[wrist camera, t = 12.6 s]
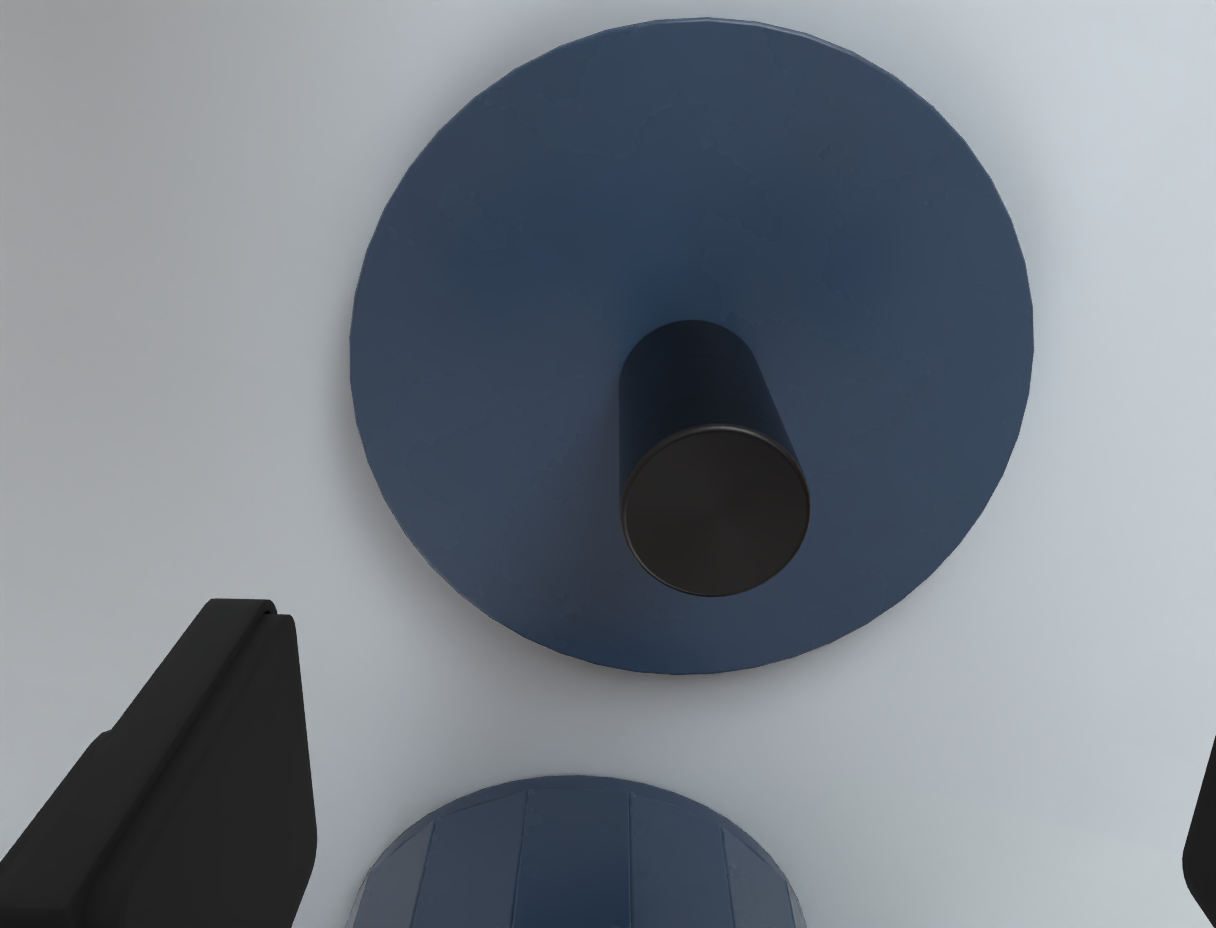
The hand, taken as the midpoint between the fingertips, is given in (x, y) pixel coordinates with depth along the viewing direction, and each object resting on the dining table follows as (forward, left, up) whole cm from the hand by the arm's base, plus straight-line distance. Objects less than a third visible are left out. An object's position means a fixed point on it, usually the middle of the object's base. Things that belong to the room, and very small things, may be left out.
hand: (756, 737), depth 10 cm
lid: (0, 0, -10) cm, 10 cm away
